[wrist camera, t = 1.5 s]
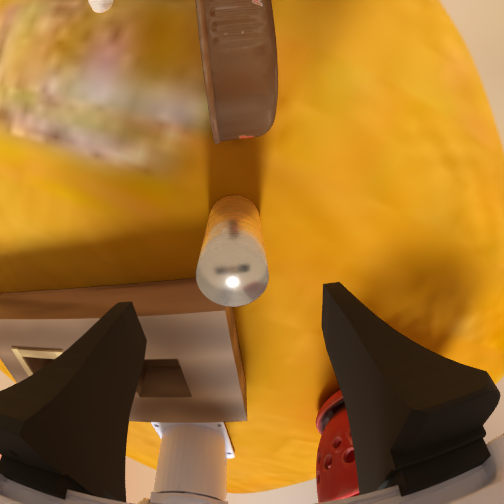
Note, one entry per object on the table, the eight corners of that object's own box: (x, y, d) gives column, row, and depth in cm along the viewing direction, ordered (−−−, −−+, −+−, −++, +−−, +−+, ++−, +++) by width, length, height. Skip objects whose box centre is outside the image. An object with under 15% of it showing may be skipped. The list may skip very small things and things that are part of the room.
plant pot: (311, 370, 27) (337, 490, 16) (434, 353, 27) (484, 445, 17) (298, 439, 33) (310, 527, 22) (397, 423, 33) (424, 500, 23)
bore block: (246, 385, 28) (247, 422, 24) (49, 382, 28) (36, 410, 24) (227, 274, 22) (224, 312, 18) (-2, 293, 22) (-25, 319, 19)
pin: (261, 239, 21) (271, 302, 15) (213, 244, 21) (202, 309, 15) (257, 192, 20) (265, 240, 13) (205, 198, 20) (189, 248, 13)
